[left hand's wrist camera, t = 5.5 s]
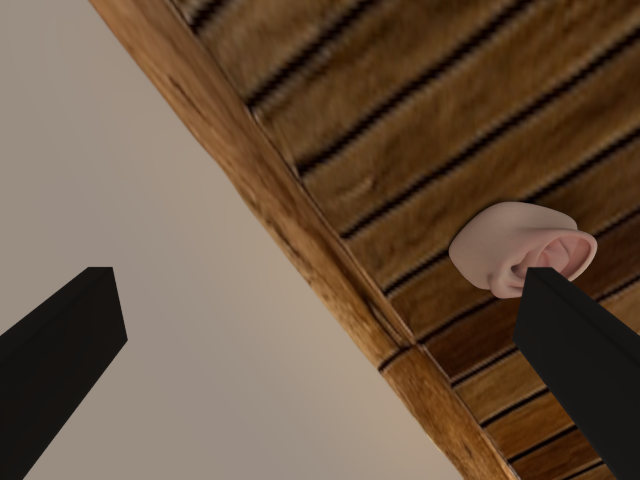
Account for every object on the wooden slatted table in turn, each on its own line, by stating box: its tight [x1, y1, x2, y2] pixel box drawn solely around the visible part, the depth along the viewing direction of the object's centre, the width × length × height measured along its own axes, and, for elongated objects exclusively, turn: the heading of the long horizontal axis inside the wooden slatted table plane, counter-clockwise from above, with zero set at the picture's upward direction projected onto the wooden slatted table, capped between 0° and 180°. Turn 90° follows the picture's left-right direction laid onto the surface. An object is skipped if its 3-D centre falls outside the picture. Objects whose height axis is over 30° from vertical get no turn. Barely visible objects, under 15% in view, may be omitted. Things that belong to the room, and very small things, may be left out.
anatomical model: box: [449, 202, 597, 298], centre depth 43 cm, size 13×4×12 cm
